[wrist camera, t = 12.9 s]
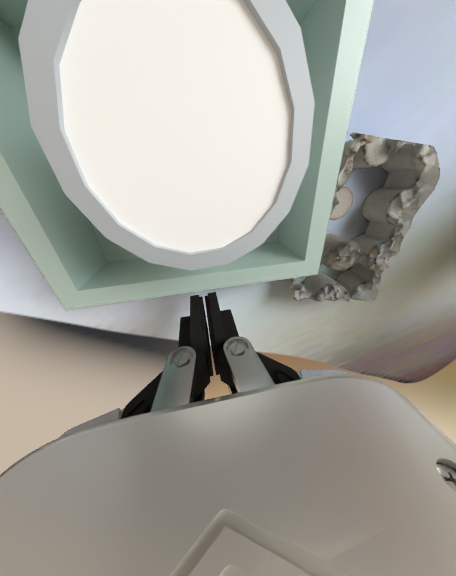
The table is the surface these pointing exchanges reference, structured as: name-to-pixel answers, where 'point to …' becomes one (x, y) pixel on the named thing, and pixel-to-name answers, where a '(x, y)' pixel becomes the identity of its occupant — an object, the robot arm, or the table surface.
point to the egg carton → (372, 216)
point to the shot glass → (172, 119)
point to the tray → (129, 267)
